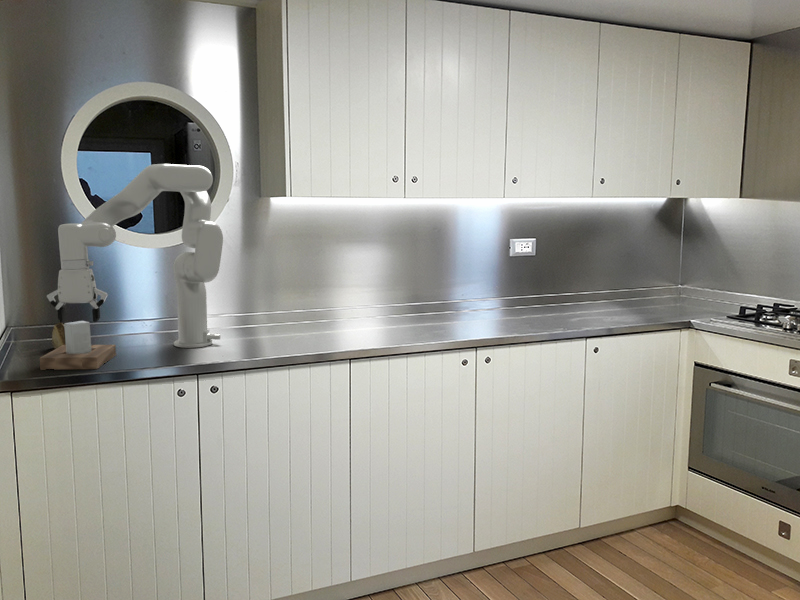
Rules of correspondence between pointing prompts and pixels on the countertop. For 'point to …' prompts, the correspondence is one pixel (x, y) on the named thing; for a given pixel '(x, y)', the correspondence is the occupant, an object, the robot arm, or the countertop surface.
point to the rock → (58, 335)
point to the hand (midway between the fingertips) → (79, 321)
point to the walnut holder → (78, 358)
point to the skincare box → (77, 337)
